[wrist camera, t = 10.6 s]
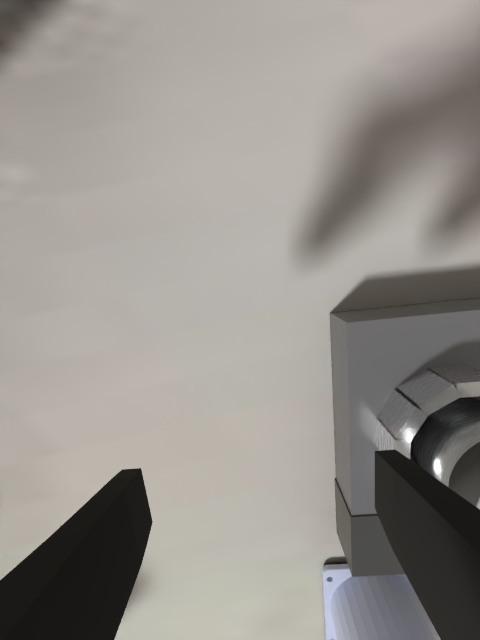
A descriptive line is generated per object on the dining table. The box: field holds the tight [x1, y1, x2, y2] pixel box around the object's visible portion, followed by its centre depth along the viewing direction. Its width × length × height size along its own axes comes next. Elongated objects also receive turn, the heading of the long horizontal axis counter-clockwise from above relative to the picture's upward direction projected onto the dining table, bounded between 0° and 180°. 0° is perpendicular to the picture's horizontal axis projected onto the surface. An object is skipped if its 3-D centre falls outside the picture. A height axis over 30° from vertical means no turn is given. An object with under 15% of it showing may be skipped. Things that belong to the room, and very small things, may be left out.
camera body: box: [330, 298, 480, 577], centre depth 16 cm, size 18×11×5 cm, turn 6°
